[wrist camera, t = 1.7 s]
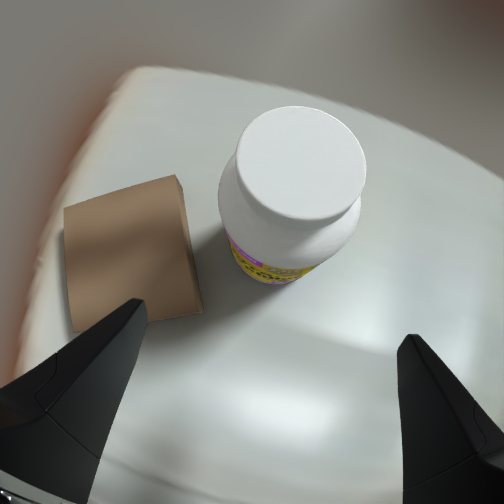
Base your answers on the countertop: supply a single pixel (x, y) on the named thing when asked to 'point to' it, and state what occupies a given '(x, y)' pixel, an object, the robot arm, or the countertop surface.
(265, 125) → the supplement bottle
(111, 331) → the robot arm
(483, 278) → the countertop surface
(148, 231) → the walnut pedestal
